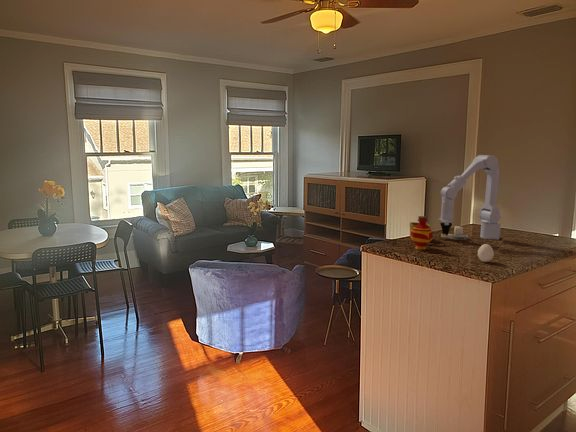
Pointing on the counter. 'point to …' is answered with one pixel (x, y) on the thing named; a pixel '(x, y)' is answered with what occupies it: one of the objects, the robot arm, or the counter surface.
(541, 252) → the counter surface
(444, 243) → the counter surface
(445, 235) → the rod with orange cap
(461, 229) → the beige mushroom
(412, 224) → the flower pot
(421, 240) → the red and yellow vase
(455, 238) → the board
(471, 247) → the counter surface
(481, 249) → the egg
